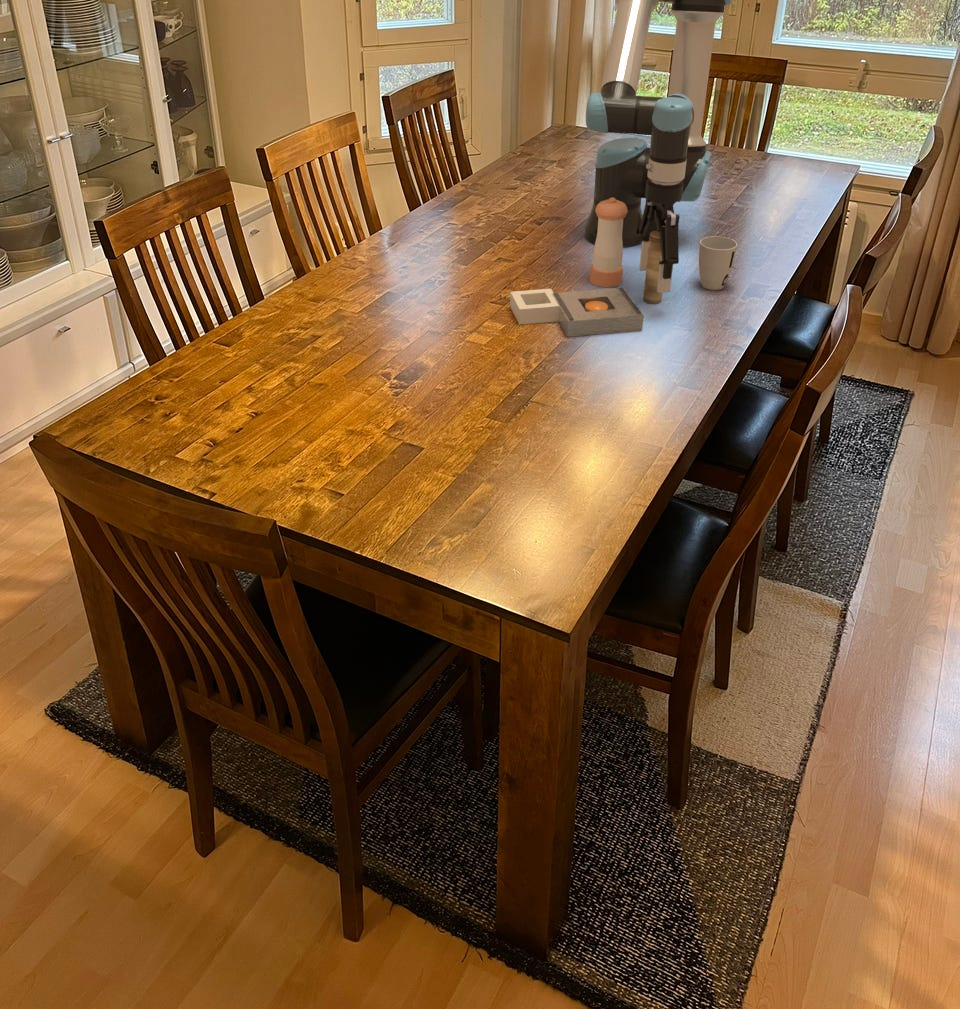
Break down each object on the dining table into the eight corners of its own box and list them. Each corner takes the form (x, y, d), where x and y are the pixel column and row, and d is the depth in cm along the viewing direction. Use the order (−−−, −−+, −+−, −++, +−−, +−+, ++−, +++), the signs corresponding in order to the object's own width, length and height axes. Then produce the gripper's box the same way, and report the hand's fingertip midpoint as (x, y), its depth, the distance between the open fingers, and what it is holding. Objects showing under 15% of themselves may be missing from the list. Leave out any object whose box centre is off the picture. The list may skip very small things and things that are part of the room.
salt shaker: (626, 277, 229) (633, 195, 218) (616, 289, 224) (623, 205, 213) (596, 272, 232) (602, 190, 221) (585, 284, 227) (590, 200, 215)
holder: (510, 306, 217) (510, 291, 215) (550, 303, 218) (551, 288, 216) (519, 324, 210) (519, 309, 208) (560, 321, 211) (561, 305, 209)
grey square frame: (550, 308, 216) (551, 292, 214) (621, 302, 218) (623, 286, 216) (567, 337, 205) (568, 320, 203) (642, 330, 207) (643, 313, 205)
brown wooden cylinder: (640, 297, 221) (647, 231, 212) (658, 295, 221) (665, 230, 213) (646, 304, 218) (653, 238, 209) (664, 303, 218) (671, 237, 209)
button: (582, 305, 212) (582, 301, 211) (603, 304, 213) (604, 300, 212) (588, 315, 208) (588, 311, 208) (610, 313, 209) (610, 309, 208)
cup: (730, 294, 222) (737, 251, 216) (693, 291, 223) (699, 248, 218) (730, 279, 228) (737, 237, 223) (694, 276, 230) (700, 234, 224)
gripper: (630, 163, 213) (621, 261, 226) (667, 199, 194) (655, 304, 207) (663, 161, 214) (653, 258, 227) (703, 197, 195) (689, 301, 208)
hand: (654, 280), depth 217 cm, fingers open, 11 cm apart
